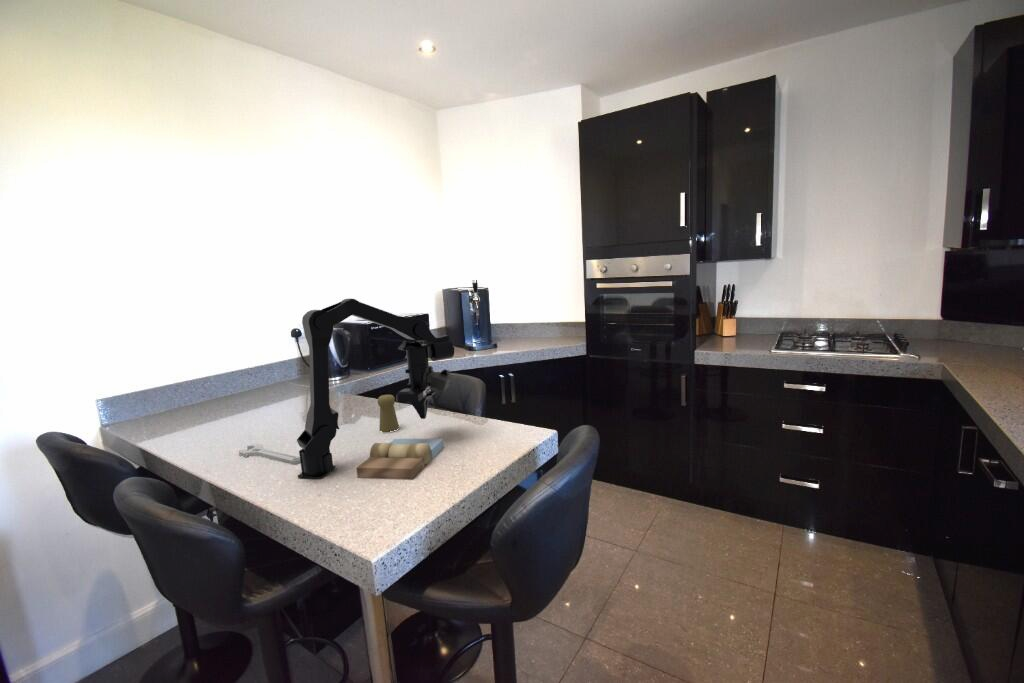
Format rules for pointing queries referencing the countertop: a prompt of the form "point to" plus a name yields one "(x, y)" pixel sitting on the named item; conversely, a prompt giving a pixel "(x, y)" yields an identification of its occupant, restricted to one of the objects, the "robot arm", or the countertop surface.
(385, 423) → the cork
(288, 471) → the countertop surface
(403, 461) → the wooden tray with rolls
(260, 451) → the adjustable wrench
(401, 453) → the light blue block
